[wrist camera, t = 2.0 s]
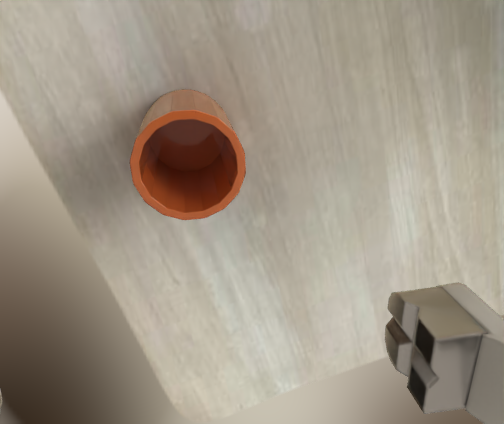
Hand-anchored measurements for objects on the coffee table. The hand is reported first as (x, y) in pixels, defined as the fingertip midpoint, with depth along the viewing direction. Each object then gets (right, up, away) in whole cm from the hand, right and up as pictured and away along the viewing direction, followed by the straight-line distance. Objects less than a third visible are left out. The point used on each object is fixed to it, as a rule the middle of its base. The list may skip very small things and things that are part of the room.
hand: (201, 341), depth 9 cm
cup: (-3, +7, +17) cm, 19 cm away
